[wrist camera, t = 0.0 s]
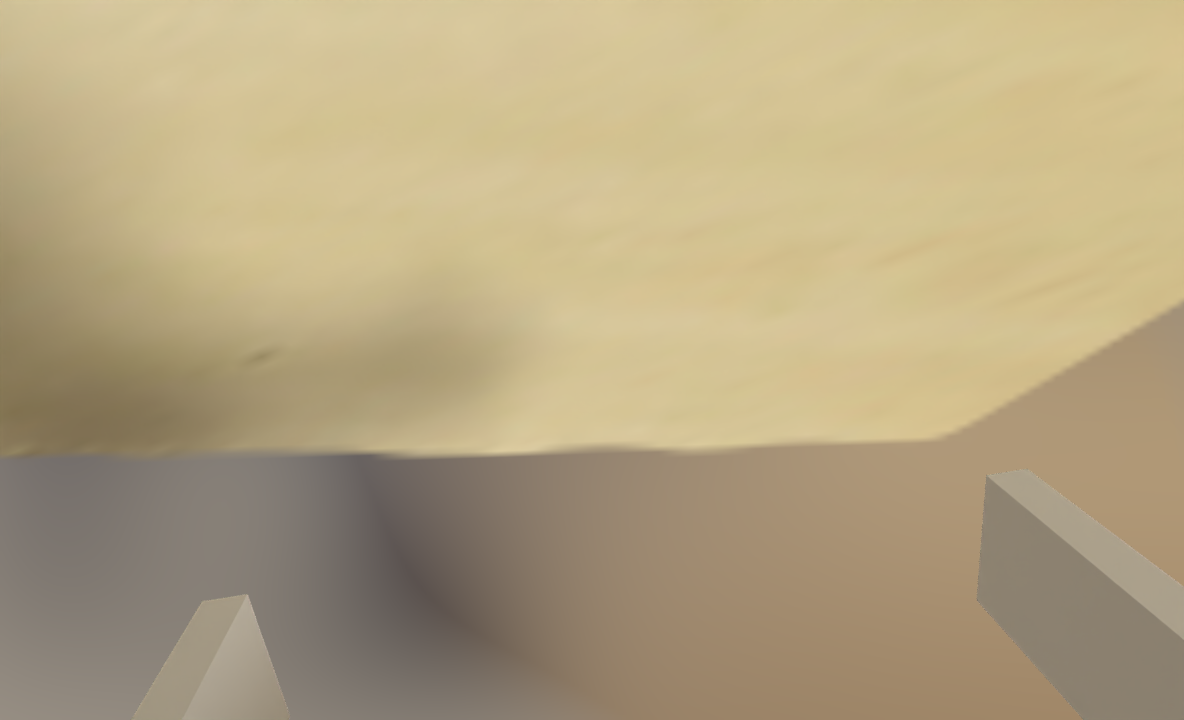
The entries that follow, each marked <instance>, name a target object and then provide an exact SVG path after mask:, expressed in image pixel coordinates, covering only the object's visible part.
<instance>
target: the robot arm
mask: <svg viewBox="0 0 1184 720" xmlns="http://www.w3.org/2000/svg"><path fill="white" fill-rule="evenodd" d="M977 601H978V602H979V603H980V604H981V605H982V607H983V608H984V609H985V610H986V611H987V612H988V613H989V614H990V616H991V617H992V618H993V619H994V620H995V621H996V622H997V623H998V624H999V626H1000V627H1001V628H1002V629H1003V630H1004V631H1005V632H1006V634H1007V635H1008V636H1009V637H1010V638H1011V639H1012V640H1013V641H1014V642H1015V643H1016V645H1017V646H1018V647H1019V648H1020V649H1021V650H1022V651H1023V653H1024V654H1025V655H1026V656H1027V657H1028V658H1029V659H1030V660H1031V662H1032V663H1033V664H1034V665H1035V666H1036V667H1037V668H1038V669H1039V670H1040V672H1041V673H1042V674H1043V675H1044V676H1045V677H1046V678H1047V679H1048V680H1049V682H1050V683H1051V684H1052V685H1053V686H1054V687H1055V688H1056V690H1057V691H1058V692H1059V693H1060V694H1061V695H1062V696H1063V697H1064V698H1065V700H1066V701H1067V702H1068V703H1069V704H1070V705H1071V706H1072V707H1073V709H1074V710H1075V711H1076V712H1077V713H1078V714H1079V715H1080V716H1081V718H1082V719H1083V720H1184V586H1182V585H1181V584H1180V583H1178V582H1177V581H1176V580H1174V579H1173V578H1171V577H1170V576H1169V575H1168V574H1166V573H1165V572H1164V571H1162V570H1161V569H1160V568H1158V567H1157V566H1156V565H1154V564H1153V563H1151V562H1150V561H1149V560H1148V559H1146V558H1145V557H1144V556H1142V555H1141V554H1140V553H1138V552H1137V551H1136V550H1134V549H1133V548H1132V547H1130V546H1129V545H1128V544H1126V543H1125V542H1124V541H1122V540H1121V539H1120V538H1118V537H1117V536H1116V535H1115V534H1113V533H1112V532H1110V531H1109V530H1108V529H1106V528H1105V527H1104V526H1102V525H1101V524H1100V523H1099V522H1097V521H1096V520H1095V519H1093V518H1092V517H1090V516H1089V515H1088V514H1087V513H1085V512H1084V511H1083V510H1081V509H1080V508H1079V507H1077V506H1076V505H1075V504H1073V503H1072V502H1070V501H1069V500H1068V499H1066V498H1065V497H1064V496H1063V495H1061V494H1060V493H1059V492H1057V491H1056V490H1055V489H1053V488H1052V487H1051V486H1049V485H1048V484H1047V483H1045V482H1044V481H1043V480H1041V479H1040V478H1039V477H1037V476H1036V475H1035V474H1034V473H1032V472H1031V471H1029V470H1028V469H1023V470H1017V471H1011V472H1005V473H998V474H992V475H987V476H986V486H985V500H984V512H983V525H982V537H981V550H980V563H979V576H978V589H977ZM289 718H290V714H289V711H288V709H287V706H286V703H285V700H284V697H283V694H282V691H281V688H280V686H279V683H278V680H277V677H276V674H275V672H274V668H273V666H272V663H271V660H270V657H269V654H268V651H267V648H266V646H265V643H264V640H263V637H262V634H261V631H260V629H259V626H258V623H257V620H256V617H255V614H254V611H253V609H252V606H251V603H250V600H249V597H248V594H245V595H239V596H232V597H226V598H220V599H214V600H208V601H202V602H201V604H200V606H199V607H198V609H197V611H196V612H195V614H194V616H193V618H192V619H191V621H190V622H189V624H188V626H187V627H186V629H185V631H184V632H183V634H182V636H181V637H180V639H179V641H178V642H177V644H176V646H175V648H174V649H173V651H172V652H171V654H170V656H169V657H168V659H167V661H166V662H165V664H164V666H163V667H162V669H161V671H160V672H159V674H158V676H157V677H156V679H155V681H154V682H153V684H152V686H151V687H150V689H149V691H148V692H147V694H146V696H145V697H144V699H143V701H142V702H141V704H140V706H139V707H138V709H137V711H136V712H135V714H134V716H133V717H132V719H131V720H289Z"/></svg>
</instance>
